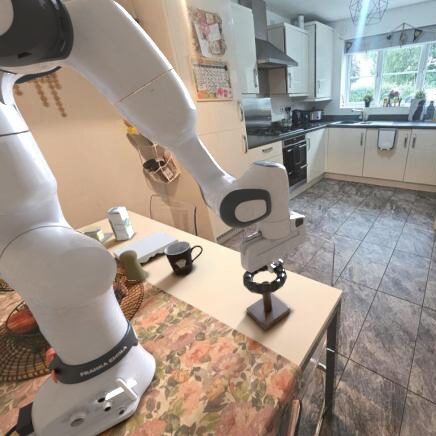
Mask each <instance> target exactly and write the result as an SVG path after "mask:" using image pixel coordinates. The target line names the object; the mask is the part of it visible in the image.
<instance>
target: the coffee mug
mask: <svg viewBox="0 0 436 436" xmlns="http://www.w3.org/2000/svg"><path fill="white" fill-rule="evenodd" d="M196 248H200V252H199V254H197V255H196V256H195V257H194V258H193V257H192V255H193V254H192V253H193V251H194V249H196ZM203 251H204V248H203V247H202V246H201V245H198V244H197V245H194V246H192V247H191V243H190V242H189V241H185V240H182V241H181V240H180V241H178V242H175V243H172V244H170V245H169V246H167V247H166V248H165V249H164V252H163V253H164V255H165V257H166V259H167V260H168V263H169V265H170V267H171V269H172V271H173V273H174V275H175V276H177V277H185V276H187V275H189V274H190V273H192V272H193V270H194V265H193V263H194V262H195V261H196V260H197V259H198V258H199V257H200V256H201V255H202V253H203Z"/></svg>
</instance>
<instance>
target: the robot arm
mask: <svg viewBox="0 0 436 436" xmlns="http://www.w3.org/2000/svg"><path fill="white" fill-rule="evenodd" d="M62 68H66V69H68V70H69V69H70V70H72V71H74V72H76V73H77V74H79V75H80V76H82V77H83V78H84V79H85V80H86V81H88V82H89V83H90V84H91V85H92V86H93V87H94V88H95V89H96V90H97V91H98V93H99V94H101V96H102V97H103V98H104V99H105V100H106V101H107V103H109V104H110V106H112V107H113V109H114V110H115V111H116V112H117V113H118V115H120V116H121V117H122V118H123V119H124V120H125V121H126V122H127V123H128V124H129V125H130V126H131V127H132V128H134V129H135V130H136V131H137V132H138V133H140V134H141V135H142V136H143V137H144V138H146V139H147V140H148V141H149V142H151V143H153V144H154V145H157V146H158V147H161V148H162V149H164V150H166V151H167V152H169V153H170V154H171V155H172V156H173V157H175V158H176V160H177V161H178V162H179V163H180V164H181V165H182V167H184V170H186V171H187V172H188V173H189V175H190V176H191V177H192V178H193V180H194V181H195V182H196V183H197V186H198V189H199V192H200V195H201V198H202V200H203V202H204V204H205V205H206V206H207V207H208V208H209V209H210V210H212V212H213V213H214V214H215V215H217V217H218V218H219V219H220V220H221V221H222V222H223V223H224V224H225V225H226V226H227V227H229V228H232V229H244V228H248V227H250V226H252V225H255V226H256V232H254V233H252V234H250V235H247V236H245V237H243V240H242V241H241V242H240V243H239V252H240V265H241V267H242V269H244V270H245V272H246V271H248V272H250V273H252V272H254V271H256V270H258V269H259V268H261V267H263V266H265V265H266V266H268V271H267V272H269V273H270V274H275V273H274V272H275V271H276V266H274V265H273V264H272V262H274V261H276V260H277V259H278V264H279V265H280V266H282V267H283V268H285V267H286V266H287V260H288V259H289V256H290V252H292V251H293V250H295V249H297V248H298V247H300V246H302V245H304V244H305V243H306V241H307V239H308V237H307V236H308V233H307V232H308V231H307V225H306V223H307V222H306V221H307V219H306V217H307V216H305V215H303V214H301V213H298V212H296V211H293V210H291V208H290V204H289V203H290V199H291V193H290V181H289V176H288V171H287V168H286V167H285V166H284V165H283V164H281V163H279V162H276V161H272V160H256V161H253V162H252V164H251V165H250V167H249V168H248V169H247V170H246V171H245V172H244V173H243V174H242V175H240V176H239V177H235V176H234V175H233V174H231V173H229V172H227V171H225V170H223V168H221V167H220V166H219V165H218V163H217V161H216V160H215V159H214V157H213V156H212V155H211V153H210V152H209V150H208V149H207V148H206V146H205V145H204V144H203V142H202V140H201V138H200V136H199V134H198V131H197V122H198V121H197V120H198V110H197V107H196V105H195V103H194V101H193V98H192V97H191V95H190V93H189V91H188V89H187V87H186V85H185V84H184V82H183V81H182V79H181V77H180V76H179V75H178V73H177V72H176V71H175V69H174V67H173V66H172V64H171V63H170V62H169V60H168V59H167V57H166V56H165V55H164V53H163V52H162V51H161V49H160V48H159V47H158V46H157V44H156V43H155V42H154V40H152V38H151V37H150V36H149V35H148V34H147V32H146V31H145V30H144V29H143V28H142V27H141V26H140V24H139V23H138V22H137V21H136V19H134V18H133V17H132V15H131V14H130V13H129V12H128V11H127V10H126V9H125V8H124V7H123V6H121V4H120V3H118V2H116V1H115V0H68V1H64V0H0V279H1V280H3V281H4V282H5V283H6V284H7V285H8V286H9V287H11V288H12V290H13V291H14V292H16V293H17V294H18V296H19V297H20V298H21V299H22V300H23V302H24V303H25V304H26V306H27V307H28V309H29V311H30V313H31V315H32V316H33V318H34V320H35V321H36V323H37V325H38V327H39V328H38V329H39V331H40V333H41V335H42V336H43V337H44V339H45V340H46V341H47V343H48V344H49V346H50V348H49V349H48V350H47V351H46V353H45V361H46V362H47V363H48V371H49V373H50V375H49V376H48V377H47V378H46V379H45V380H44V382H43V383H42V384H40V386H39V387H38V388H37V390H36V392H35V394H34V397H33V401H31V402H30V403H28V404H26V405H24V406H22V407H20V408H19V409H18V415H17V421H16V423H15V425H14V426H13V427H12V428H10V429H9V430H8V431H7V432H6V434H4V436H11V435H12V434H13V433H14V432H16V433H17V434H18V436H97V435H99V434H101V433H103V432H105V431H107V430H109V429H110V428H112V427H114V426H116V425H117V424H119V423H121V422H123V421H124V420H127V419H128V418H130V417H132V415H134V414H135V412H136V410H137V409H138V406H139V404H140V400H141V398H142V396H143V395H144V393H145V391H147V389H148V388H149V386H150V384H151V382H152V381H153V378H154V376H155V374H156V367H157V363H156V359H155V357H154V356H153V355H152V354H151V353H150V352H148V351H147V350H146V349H145V348H144V347H143V346H142V345H141V343H140V342H139V337H138V335H137V332H136V330H135V328H134V325H133V323H131V321H130V320H129V318H127V317H125V315H124V312H123V310H122V308H121V306H120V303H119V302H118V299H117V298H116V294H115V290H114V282H115V280H116V278H117V273H118V265H117V261H116V258H115V256H114V255H112V252H110V251H109V250H108V249H107V248H106V247H105V246H104V245H103V244H102V243H99V242H98V241H97V240H95V239H94V238H91V237H89V236H87V235H84V233H83V232H79V231H77V230H75V229H74V228H73V227H72V226H71V225H70V224H69V222H68V221H67V220H66V218H65V216H64V213H63V210H62V207H61V203H60V200H59V196H58V181H57V179H56V177H55V176H54V173H53V172H52V170H51V168H50V166H49V164H48V162H47V161H46V158H45V157H44V155H43V153H42V151H41V149H40V146H39V145H38V144H37V141H36V140H35V138H34V136H33V134H32V132H31V131H30V128H29V126H28V125H27V122H26V120H25V119H24V117H23V116H22V113H21V112H20V110H19V108H18V106H17V102H16V101H15V97H14V92H13V88H14V85H21V84H25V83H27V82H30V81H33V80H35V79H38V78H41V77H46V76H48V75H51V74H54V73H56V72H58V71H59V70H60V69H62ZM279 258H280V259H279Z"/></svg>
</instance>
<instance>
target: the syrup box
mask: <svg viewBox="0 0 436 436" xmlns="http://www.w3.org/2000/svg"><path fill="white" fill-rule="evenodd" d="M105 215H106V217H107V220H108V223H109V224H110V228H111V231H112V234H113V236H114V237H115V240H116V241H126V240H130V239H131V238H132V237H133V235H135V232H134V229H133V226H132V223H131V220H130V217H129V214H128V212H127V209H126V206H114V207H110V209H108V211H106V212H105Z"/></svg>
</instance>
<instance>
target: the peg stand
mask: <svg viewBox="0 0 436 436" xmlns="http://www.w3.org/2000/svg"><path fill="white" fill-rule="evenodd" d="M260 283H261V284H264V283H270V281H269V280H265V281H262V282H260ZM261 297H262V298H260V299H258V300H257V301H255V302H254V303H253V304H251V305H250V306H248V307H246V312H247V313H248V315H250V317H251V318H253V320H254V321H255V322H256V323H258V325H259V326H261V328H262V329H263V330H264V331H267V330H268V329H270V328H271V327H272V326H274V325H275V324H276V323H277V322H280V321H281V320H282V319H283V318H284V317H286V316H287V315H288V314H289V313H291V308H290V307H289V306H288V305H287V304H285V303H284V302H283V301H282V300H281V299H279V298H278V297H277V296H276V295H274V294H273V293H269V294H263V295H261Z"/></svg>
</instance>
